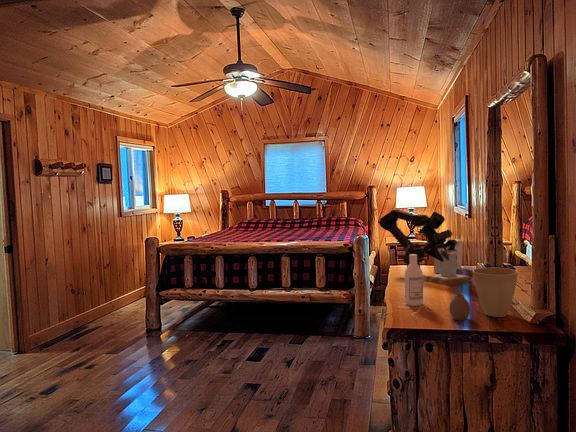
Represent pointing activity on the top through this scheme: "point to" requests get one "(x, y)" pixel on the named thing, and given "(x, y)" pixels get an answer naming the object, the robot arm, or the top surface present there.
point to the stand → (449, 279)
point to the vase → (459, 307)
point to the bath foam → (413, 283)
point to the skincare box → (458, 253)
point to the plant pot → (495, 289)
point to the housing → (448, 263)
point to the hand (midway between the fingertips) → (449, 260)
